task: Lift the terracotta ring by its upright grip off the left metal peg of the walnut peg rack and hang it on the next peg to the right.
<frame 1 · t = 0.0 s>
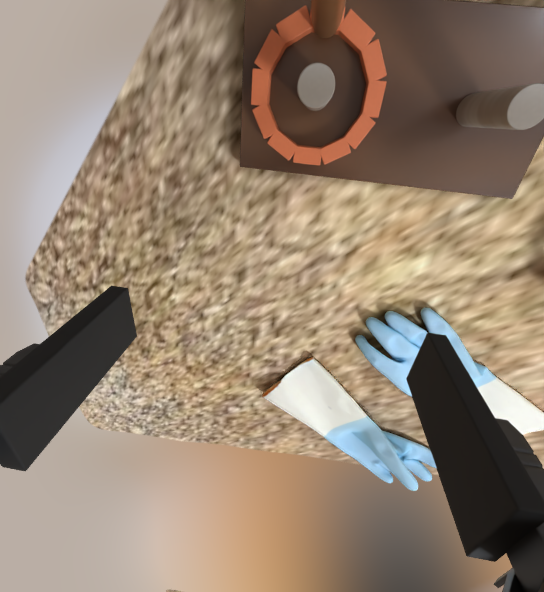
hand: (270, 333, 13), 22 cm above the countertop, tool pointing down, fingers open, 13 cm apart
rubber gloves: (400, 403, 46), on the countertop
ring: (316, 94, 26), point 1 cm above the countertop, touching rack
rack: (389, 102, 27), on the countertop
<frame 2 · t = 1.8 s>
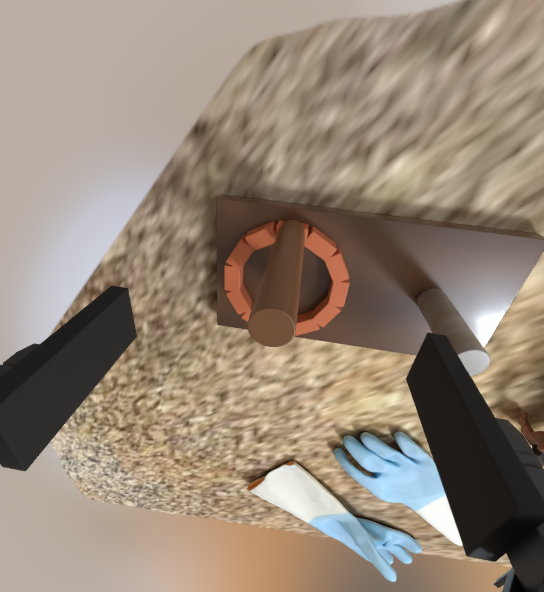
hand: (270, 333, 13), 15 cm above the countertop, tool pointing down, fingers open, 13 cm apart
rubber gloves: (379, 498, 47), on the countertop
ring: (286, 279, 27), point 1 cm above the countertop, touching rack
rack: (355, 281, 28), on the countertop
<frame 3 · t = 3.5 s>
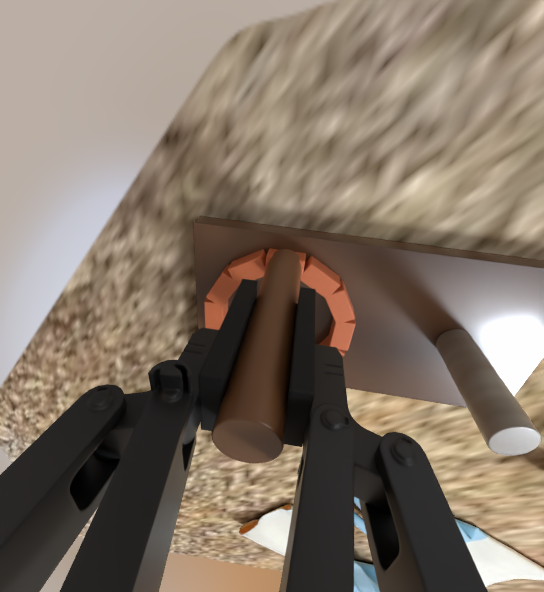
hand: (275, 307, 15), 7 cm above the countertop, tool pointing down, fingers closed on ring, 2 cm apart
rubber gloves: (386, 543, 43), on the countertop
ring: (279, 315, 23), point 2 cm above the countertop, touching gripper
rack: (362, 317, 24), on the countertop
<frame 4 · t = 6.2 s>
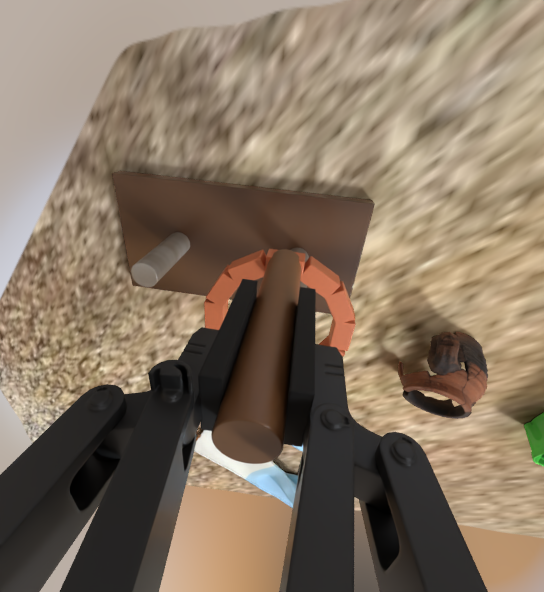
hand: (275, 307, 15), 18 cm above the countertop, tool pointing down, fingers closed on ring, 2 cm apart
rubber gloves: (304, 453, 53), on the countertop
ring: (279, 316, 23), point 12 cm above the countertop, touching gripper
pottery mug: (435, 351, 38), on the countertop
rack: (240, 245, 34), on the countertop
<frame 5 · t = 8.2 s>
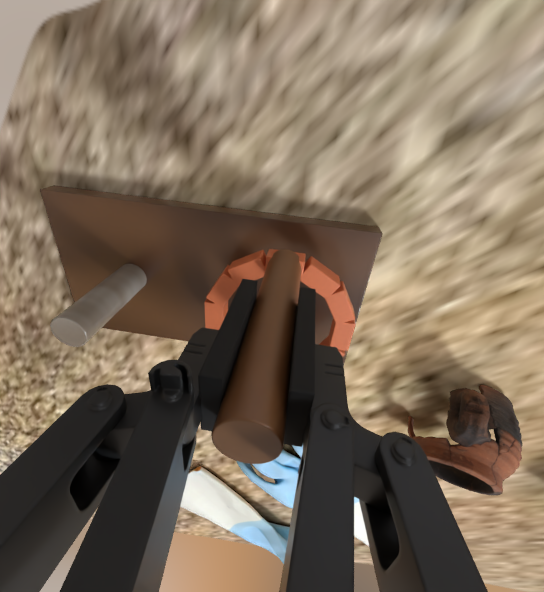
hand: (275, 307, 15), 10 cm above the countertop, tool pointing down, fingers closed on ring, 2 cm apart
rubber gloves: (296, 505, 46), on the countertop
ring: (279, 316, 23), point 4 cm above the countertop, touching gripper
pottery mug: (453, 404, 31), on the countertop
rack: (212, 278, 27), on the countertop
when the fingers open (8 cm above the countertop, at t = 9.1 s): ring stays where it is, resting on rack.
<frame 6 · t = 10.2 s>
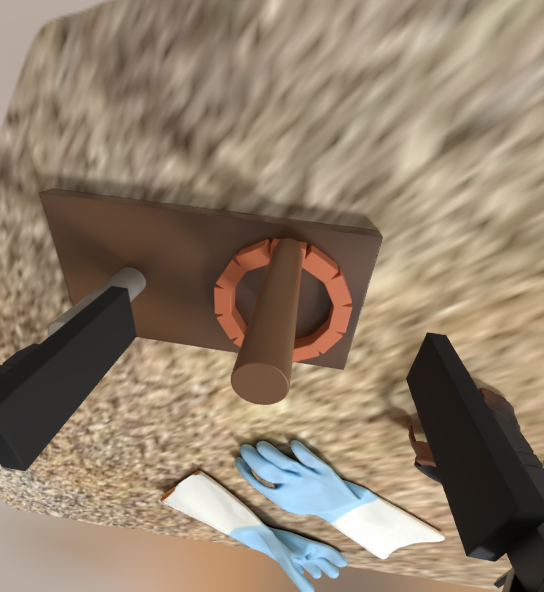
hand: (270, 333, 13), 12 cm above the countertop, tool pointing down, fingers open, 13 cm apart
rubber gloves: (296, 509, 45), on the countertop
ring: (282, 301, 25), point 1 cm above the countertop, touching rack
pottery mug: (454, 409, 31), on the countertop
rack: (211, 281, 27), on the countertop
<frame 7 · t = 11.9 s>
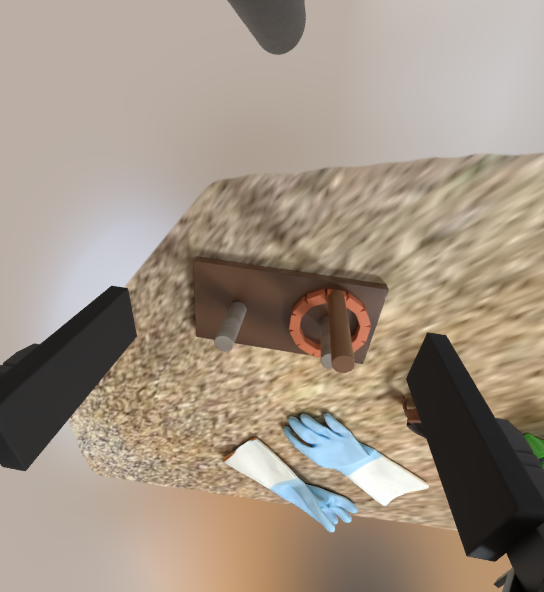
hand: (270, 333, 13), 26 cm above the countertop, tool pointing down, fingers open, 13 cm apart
rubber gloves: (322, 467, 62), on the countertop
ring: (328, 322, 42), point 1 cm above the countertop, touching rack
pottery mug: (432, 390, 48), on the countertop
rack: (284, 309, 44), on the countertop
fruit basket: (537, 447, 51), on the countertop
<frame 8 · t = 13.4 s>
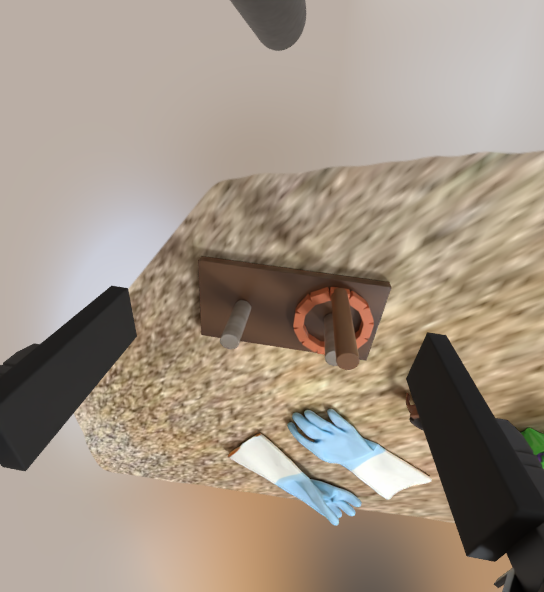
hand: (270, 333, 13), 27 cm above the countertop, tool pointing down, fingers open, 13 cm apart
rubber gloves: (326, 462, 63), on the countertop
ring: (332, 320, 43), point 1 cm above the countertop, touching rack
rack: (288, 307, 44), on the countertop
fruit basket: (538, 441, 52), on the countertop
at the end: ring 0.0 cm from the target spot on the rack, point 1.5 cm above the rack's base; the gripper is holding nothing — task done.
